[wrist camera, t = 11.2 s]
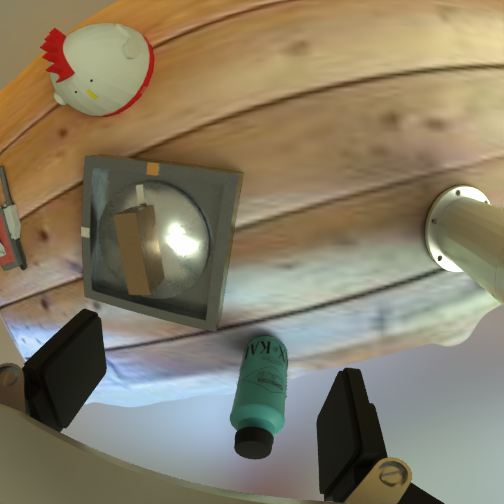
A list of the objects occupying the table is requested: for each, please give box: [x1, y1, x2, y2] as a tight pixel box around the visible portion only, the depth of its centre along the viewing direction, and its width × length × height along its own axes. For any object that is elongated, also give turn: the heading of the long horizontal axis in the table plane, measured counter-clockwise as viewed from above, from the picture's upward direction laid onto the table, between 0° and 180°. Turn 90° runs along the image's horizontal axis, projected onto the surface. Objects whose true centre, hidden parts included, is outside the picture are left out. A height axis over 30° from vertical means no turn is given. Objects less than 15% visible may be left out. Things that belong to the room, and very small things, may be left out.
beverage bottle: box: [230, 336, 288, 459], centre depth 36 cm, size 6×7×20 cm
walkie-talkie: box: [0, 166, 26, 271], centre depth 43 cm, size 9×4×20 cm
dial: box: [98, 181, 209, 299], centre depth 37 cm, size 16×16×6 cm
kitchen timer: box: [40, 23, 154, 117], centre depth 28 cm, size 14×14×15 cm
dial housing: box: [81, 155, 244, 332], centre depth 40 cm, size 21×21×4 cm
